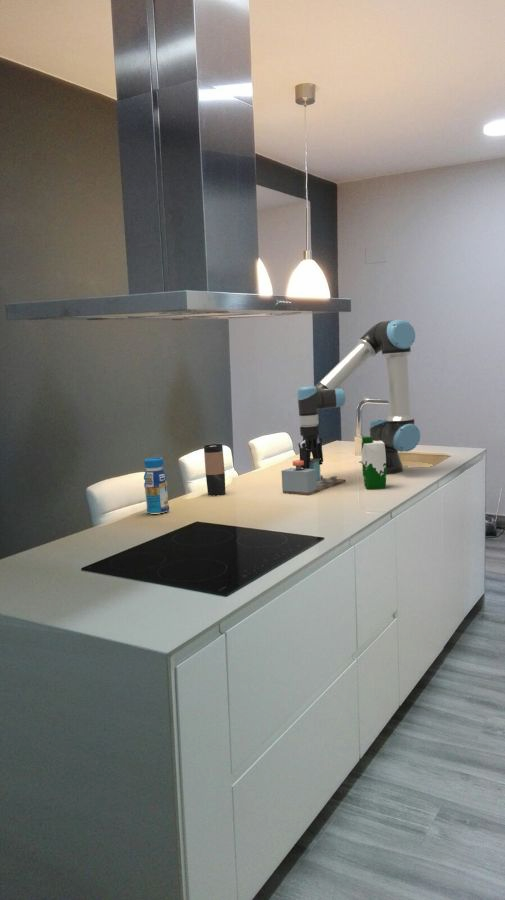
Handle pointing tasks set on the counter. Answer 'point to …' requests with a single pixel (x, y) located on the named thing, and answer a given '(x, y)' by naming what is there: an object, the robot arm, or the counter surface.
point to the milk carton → (373, 463)
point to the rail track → (321, 485)
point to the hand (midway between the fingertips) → (313, 482)
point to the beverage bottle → (155, 486)
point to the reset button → (298, 464)
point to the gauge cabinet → (299, 480)
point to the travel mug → (214, 469)
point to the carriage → (315, 466)
